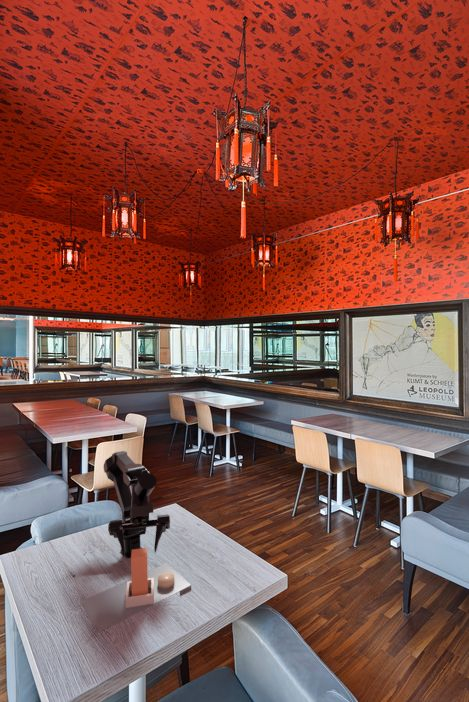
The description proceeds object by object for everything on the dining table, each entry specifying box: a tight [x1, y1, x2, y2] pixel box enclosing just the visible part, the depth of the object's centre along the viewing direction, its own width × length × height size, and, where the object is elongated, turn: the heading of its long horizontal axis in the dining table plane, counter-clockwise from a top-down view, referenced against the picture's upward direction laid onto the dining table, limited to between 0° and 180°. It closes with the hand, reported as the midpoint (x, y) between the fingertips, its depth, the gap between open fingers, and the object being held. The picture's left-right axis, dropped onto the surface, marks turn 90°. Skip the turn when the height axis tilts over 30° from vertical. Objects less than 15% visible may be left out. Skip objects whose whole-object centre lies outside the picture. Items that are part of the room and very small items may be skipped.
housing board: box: [80, 562, 192, 633], centre depth 110 cm, size 15×28×4 cm, turn 130°
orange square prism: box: [130, 547, 149, 597], centre depth 108 cm, size 4×4×13 cm
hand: (139, 554), depth 112 cm, fingers open, 9 cm apart
